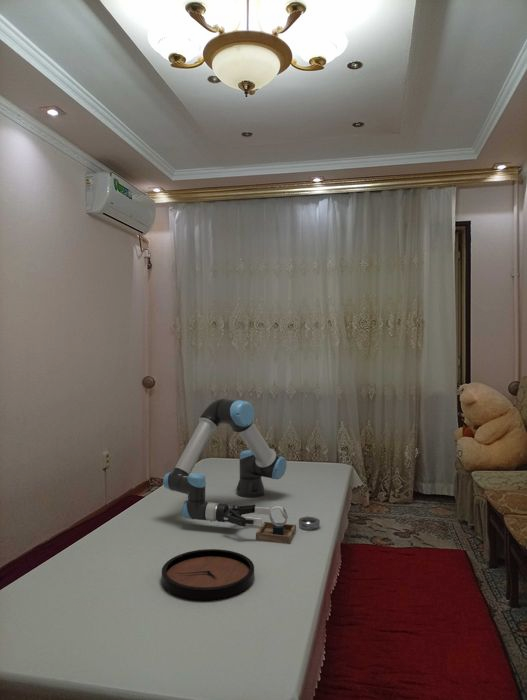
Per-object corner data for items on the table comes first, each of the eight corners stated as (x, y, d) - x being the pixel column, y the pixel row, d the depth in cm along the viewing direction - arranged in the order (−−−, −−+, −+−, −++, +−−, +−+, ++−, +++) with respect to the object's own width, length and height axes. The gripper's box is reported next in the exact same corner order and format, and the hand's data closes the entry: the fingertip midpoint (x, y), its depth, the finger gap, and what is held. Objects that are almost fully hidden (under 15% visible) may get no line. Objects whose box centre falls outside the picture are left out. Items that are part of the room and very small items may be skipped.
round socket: (303, 522, 231) (303, 515, 231) (322, 525, 227) (322, 518, 227) (295, 528, 223) (295, 521, 223) (315, 532, 219) (315, 525, 219)
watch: (288, 535, 214) (288, 509, 213) (268, 534, 214) (268, 508, 214) (288, 530, 219) (288, 504, 219) (269, 530, 220) (269, 504, 219)
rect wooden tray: (264, 528, 223) (264, 521, 223) (296, 531, 220) (296, 524, 220) (255, 540, 210) (255, 533, 210) (289, 543, 206) (289, 536, 206)
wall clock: (267, 556, 185) (232, 596, 156) (267, 567, 185) (232, 610, 156) (189, 544, 196) (143, 579, 166) (189, 554, 196) (143, 592, 166)
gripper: (226, 511, 233) (272, 515, 228) (207, 531, 209) (258, 536, 204) (226, 495, 233) (272, 499, 228) (207, 512, 209) (258, 517, 203)
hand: (265, 516), depth 216 cm, fingers open, 13 cm apart
